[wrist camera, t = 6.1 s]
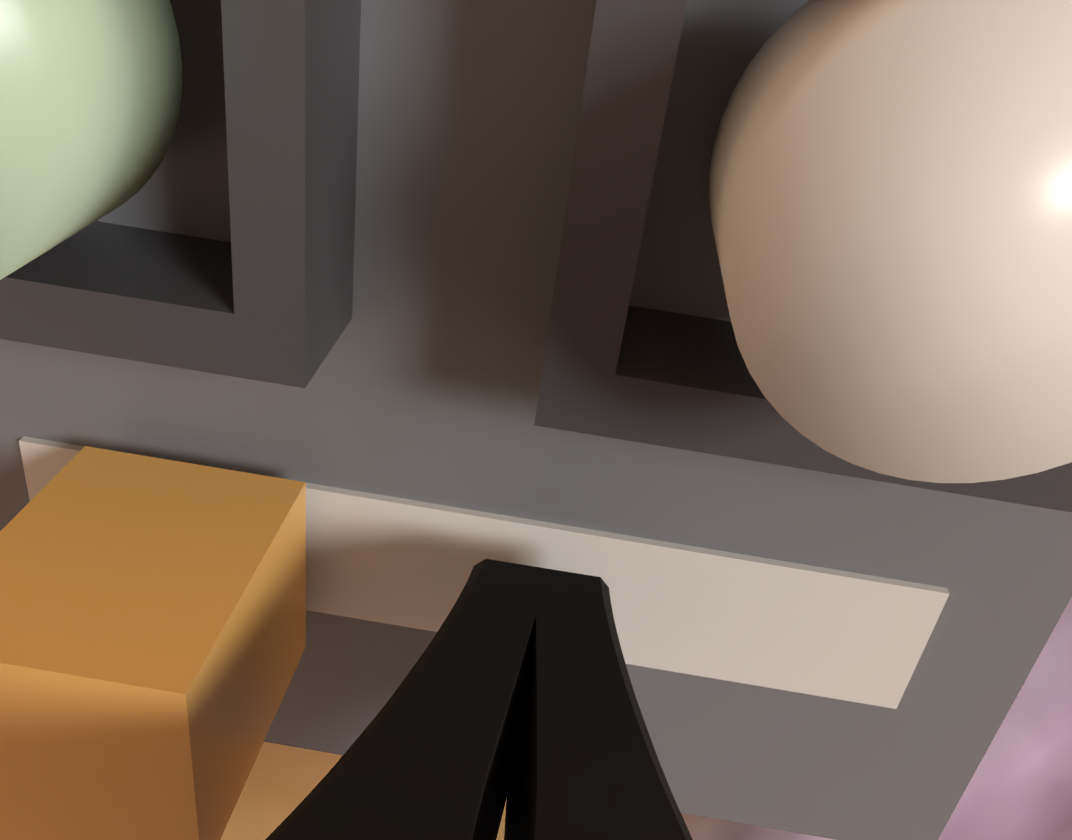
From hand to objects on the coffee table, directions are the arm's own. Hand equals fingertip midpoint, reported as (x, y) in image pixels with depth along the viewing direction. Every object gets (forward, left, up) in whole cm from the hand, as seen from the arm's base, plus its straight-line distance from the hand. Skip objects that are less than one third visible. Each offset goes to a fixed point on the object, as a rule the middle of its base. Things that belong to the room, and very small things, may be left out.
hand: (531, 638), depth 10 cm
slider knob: (0, +4, 0) cm, 4 cm away
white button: (+5, -2, 0) cm, 6 cm away
